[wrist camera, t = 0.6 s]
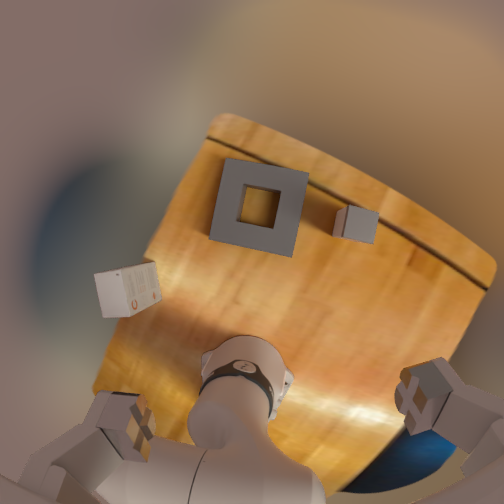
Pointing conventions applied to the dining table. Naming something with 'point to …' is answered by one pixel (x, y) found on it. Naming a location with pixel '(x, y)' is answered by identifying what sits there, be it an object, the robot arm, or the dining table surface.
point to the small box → (127, 289)
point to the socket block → (232, 199)
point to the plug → (356, 224)
